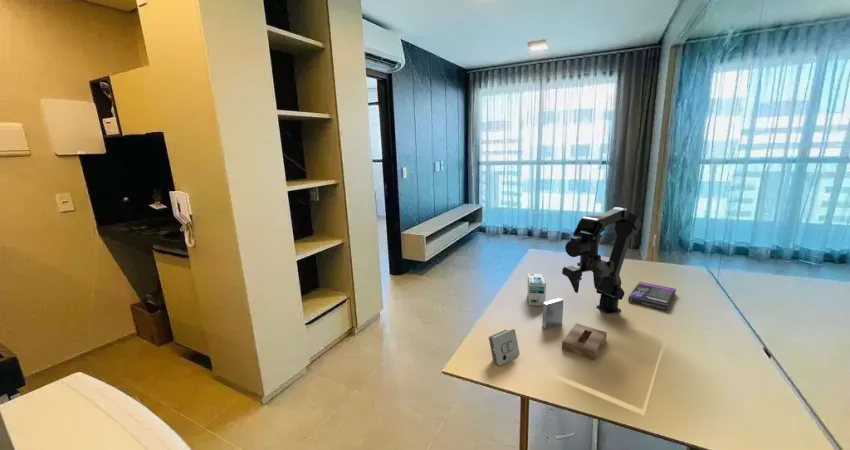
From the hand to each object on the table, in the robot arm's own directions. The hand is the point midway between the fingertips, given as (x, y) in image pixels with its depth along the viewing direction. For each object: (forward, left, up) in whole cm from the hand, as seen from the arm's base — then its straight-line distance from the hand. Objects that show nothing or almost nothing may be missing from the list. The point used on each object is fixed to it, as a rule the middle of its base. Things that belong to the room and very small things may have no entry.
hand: (586, 290), depth 126 cm
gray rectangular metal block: (+14, -1, -13) cm, 19 cm away
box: (-40, -5, -14) cm, 43 cm away
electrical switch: (+40, +8, -13) cm, 43 cm away
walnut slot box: (+12, +13, -13) cm, 22 cm away
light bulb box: (+6, -22, -13) cm, 26 cm away
